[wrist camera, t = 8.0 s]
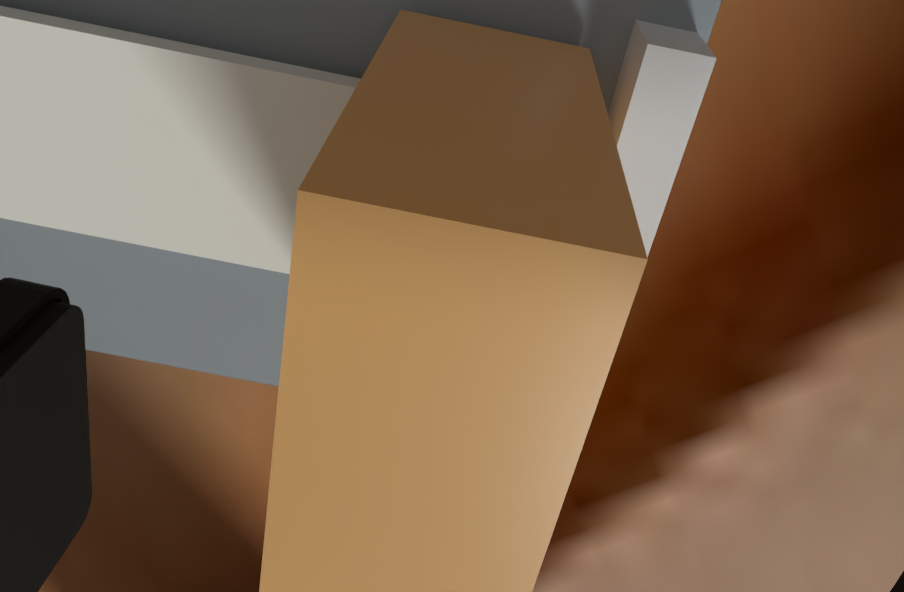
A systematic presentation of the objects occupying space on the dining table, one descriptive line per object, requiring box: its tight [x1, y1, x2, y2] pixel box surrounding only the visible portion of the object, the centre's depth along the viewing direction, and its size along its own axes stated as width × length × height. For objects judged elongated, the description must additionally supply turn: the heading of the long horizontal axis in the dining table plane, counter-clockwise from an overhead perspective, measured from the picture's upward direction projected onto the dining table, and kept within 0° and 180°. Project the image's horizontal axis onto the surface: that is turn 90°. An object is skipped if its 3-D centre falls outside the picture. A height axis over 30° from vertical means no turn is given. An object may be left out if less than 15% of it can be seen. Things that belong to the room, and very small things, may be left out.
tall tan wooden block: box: [0, 6, 648, 592], centre depth 11 cm, size 12×6×7 cm, turn 80°
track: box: [0, 0, 722, 386], centre depth 15 cm, size 22×10×3 cm, turn 80°
